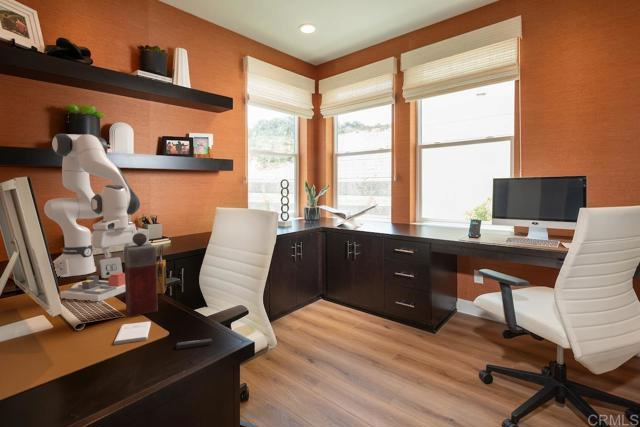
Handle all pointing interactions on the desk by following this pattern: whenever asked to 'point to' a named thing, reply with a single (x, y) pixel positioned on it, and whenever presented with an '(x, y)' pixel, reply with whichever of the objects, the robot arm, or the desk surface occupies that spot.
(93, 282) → the tagged toggle
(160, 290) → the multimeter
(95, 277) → the plain toggle
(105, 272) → the electrical switch
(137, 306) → the decanter
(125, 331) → the external hard drive
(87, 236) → the robot arm
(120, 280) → the lockout cap
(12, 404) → the desk surface
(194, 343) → the usb stick
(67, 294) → the panel
